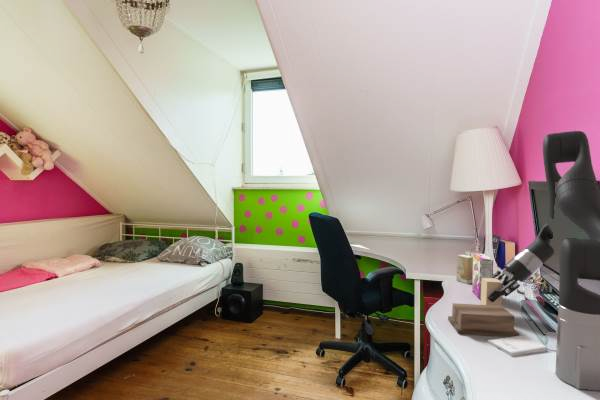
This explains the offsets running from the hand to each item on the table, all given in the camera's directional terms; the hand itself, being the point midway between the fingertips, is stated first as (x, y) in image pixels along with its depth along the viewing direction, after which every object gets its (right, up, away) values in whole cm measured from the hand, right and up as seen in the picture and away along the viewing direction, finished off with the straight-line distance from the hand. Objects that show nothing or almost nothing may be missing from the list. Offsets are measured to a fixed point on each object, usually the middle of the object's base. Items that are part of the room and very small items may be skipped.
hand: (486, 296), depth 126 cm
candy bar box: (+8, -5, +19) cm, 22 cm away
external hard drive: (-5, -8, -25) cm, 27 cm away
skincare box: (+11, -4, +40) cm, 42 cm away
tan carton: (+2, -6, 0) cm, 6 cm away
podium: (-8, -6, -13) cm, 16 cm away
